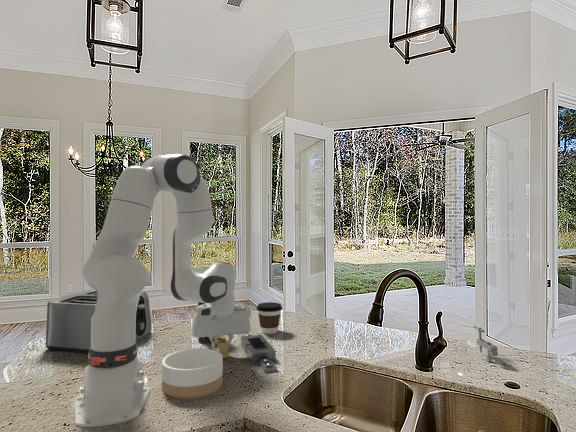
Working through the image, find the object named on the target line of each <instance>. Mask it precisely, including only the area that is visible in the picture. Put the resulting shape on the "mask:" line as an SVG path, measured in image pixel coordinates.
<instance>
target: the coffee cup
mask: <svg viewBox="0 0 576 432" xmlns="http://www.w3.org/2000/svg"><path fill="white" fill-rule="evenodd" d="M256 310H257V311H258V313H257V314H258V321H259V327H260V331H261V333H263V334H266V335H272V334H276V333H277V332H278V328H279V325H280V319H281V311H283V307H282V304H281V303H278V302H271V301H270V302H267V301H266V302H260V303H258V304H257V306H256Z"/></svg>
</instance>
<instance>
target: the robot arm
mask: <svg viewBox="0 0 576 432" xmlns="http://www.w3.org/2000/svg"><path fill="white" fill-rule="evenodd" d="M159 192H168V193H169V192H170V193H172V195H173V196H174V198H175V201H176V202H175V203H176V205H175V206H176V213H177V214H176V215H177V222H176V223H177V224H176V228H175V229H174V231H173V234H172V236H173V237H172V276H171V280H170V292H171V293H172V296H173V297H174V298H175V299H176V300H178V301H183V302H184V301H185V302H188V301H189V302H194V303H198V302H201V303H205V304H203V305H200V306H198V305H197V306H196V307H195V314H194V316H193V319H192V321H191V330H190V333H191V336H192V337H194V338H198V337H209V339H210V341H211V342H212V343H211V350H215V349H217V343H216V342H214V341H213V340H212V339H214V336H222V335H224V336H228V338H227V341H228V349H229V348H230V347H231V342H232V341H233V339H234V335H246V334H249V333H250V332H251V321H250V320H251V316H252V313H251V312H252V311H251V309H250V308H249V307H247V306H243V307H242V306H241V307H240V306H235V304H236V302H235V299H236V298H235V297H236V296H235V289H236V272H235V267H234V265H233V264H232V263H231V262H226V261H225V262H224V261H212V263H211V266H209V268H207V270H204V271H202V272H197V271H196V272H195V271H194V270H193V269H192V265H191V264H192V263H191V262H192V259H191V258H192V245H193V243H194V242H195V241H196V240H198V239H199V238H202V237H203V236H206V235H207V233H209V232H210V230H211V229H212V227H213V224H214V223H213V222H214V214H213V213H214V212H213V205H212V199H211V194H210V190H209V187H208V183H207V181H206V180H205V179H204V178H203V177H201V173H200V169H199V166H198V164H197V163H196V160H195V159H194V158H192V157H191V156H189V155H187V154H183V153H174V154H167V153H165V154H164V153H163V154H159V155H155V156H150V157H147V158H145V159H144V160H142V162H140V163H139V165H131V166H127V167H125V168H124V169H123V170H122V172H121V174H120V175H119V178H118V180H117V182H116V184H115V186H114V190H113V191H112V194H111V197H110V198H111V199H110V202H109V206H108V208H107V212H106V216H105V218H104V219H105V220H104V223H103V225H102V229H101V232H100V234H99V236H98V238H97V239H96V241H95V244H94V246H93V248H92V250H91V253H90V255H89V257H87V259H86V260H85V262H84V263H83V265H82V276H83V279H84V280H85V282H86V284H87V285H89V287H90V288H91V289H96V290H97V291H98V298H97V303H96V308H95V311H94V314H93V315H92V317H91V347H90V348H89V353H87V354H88V355H87V357H88V365H86V366H85V368H83V387H81V388H80V390H79V391H80V395H78V396H76V397H74V400H73V406H74V407H73V409H74V425H75V427H81V428H96V427H104V426H110V425H111V426H112V425H116V424H121V423H125V422H128V421H131V420H133V419H136V418H138V417H139V415H140V414H141V411H142V410H143V408H144V406H145V403H146V401H147V399H148V397H149V394H150V393H151V387H148V386H144V385H145V384H144V372H145V371H144V363H143V361H141V360H140V359H139V358H138V349H139V348H138V347H139V346H138V342H137V340H136V341H135V333H136V311H137V306H138V302H139V298H140V294H141V291H144V289H145V288H146V285H147V283H148V280H149V279H148V278H149V276H148V275H149V274H148V270H147V267H146V266H145V265H144V264H143V263H142V262H141V261H140V260H138V259H137V258H136V257H134V255H135V252H136V250H137V248H138V247H139V245H140V243H141V242H142V241H143V240H144V239H145V238H146V235H147V231H148V227H149V223H150V220H151V215H152V212H153V207H154V204H155V199H156V196H157V195H158V193H159Z"/></svg>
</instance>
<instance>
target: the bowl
mask: <svg viewBox="0 0 576 432" xmlns="http://www.w3.org/2000/svg"><path fill="white" fill-rule="evenodd" d="M223 360H224V358H223V356H222V354H221V353H220V352H218V351H215V349H212V348H211V349H209V348H204V347H203V348H202V347H200V348H198V347H197V348H187V349H183V350H181V349H180V350H177V351H174V352H172V353H170V354H167V355H166V356H165V357H164V358H163V359H162V361H161V390H162V392H163V393H165V395H168V396H170V397H173V398H179V399H193V398H200V397H203V396H208V395H210V394H213V393H215V392H217V391H218V390H219V389H221V388H222V386H223V383H224V382H223V381H224V379H223V374H224V371H223V369H224V367H223V366H224V364H223V363H224V361H223Z"/></svg>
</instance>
